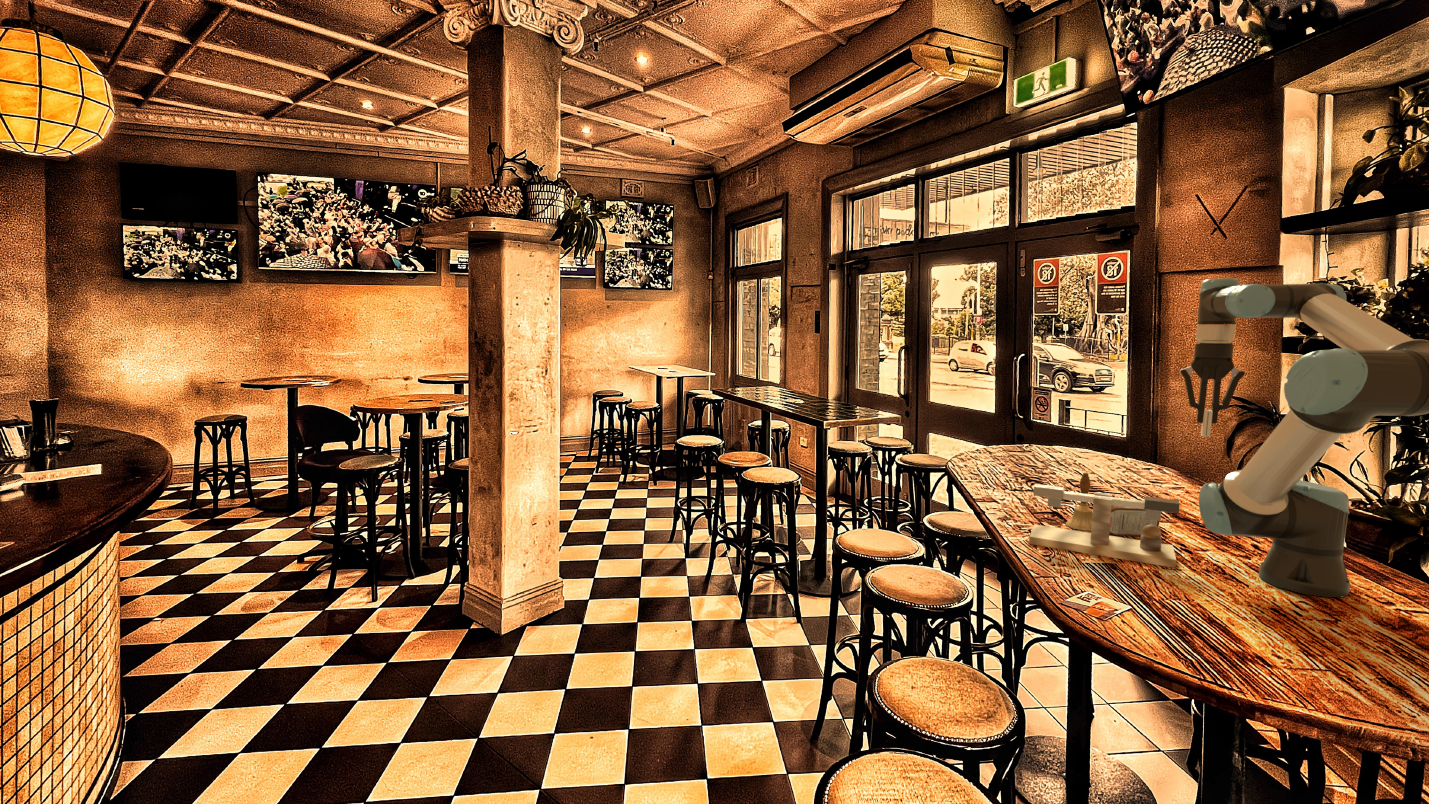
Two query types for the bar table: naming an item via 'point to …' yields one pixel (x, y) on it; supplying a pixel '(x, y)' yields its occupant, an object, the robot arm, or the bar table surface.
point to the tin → (1129, 521)
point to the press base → (1102, 550)
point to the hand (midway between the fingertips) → (1205, 435)
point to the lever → (1149, 503)
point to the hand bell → (1082, 509)
